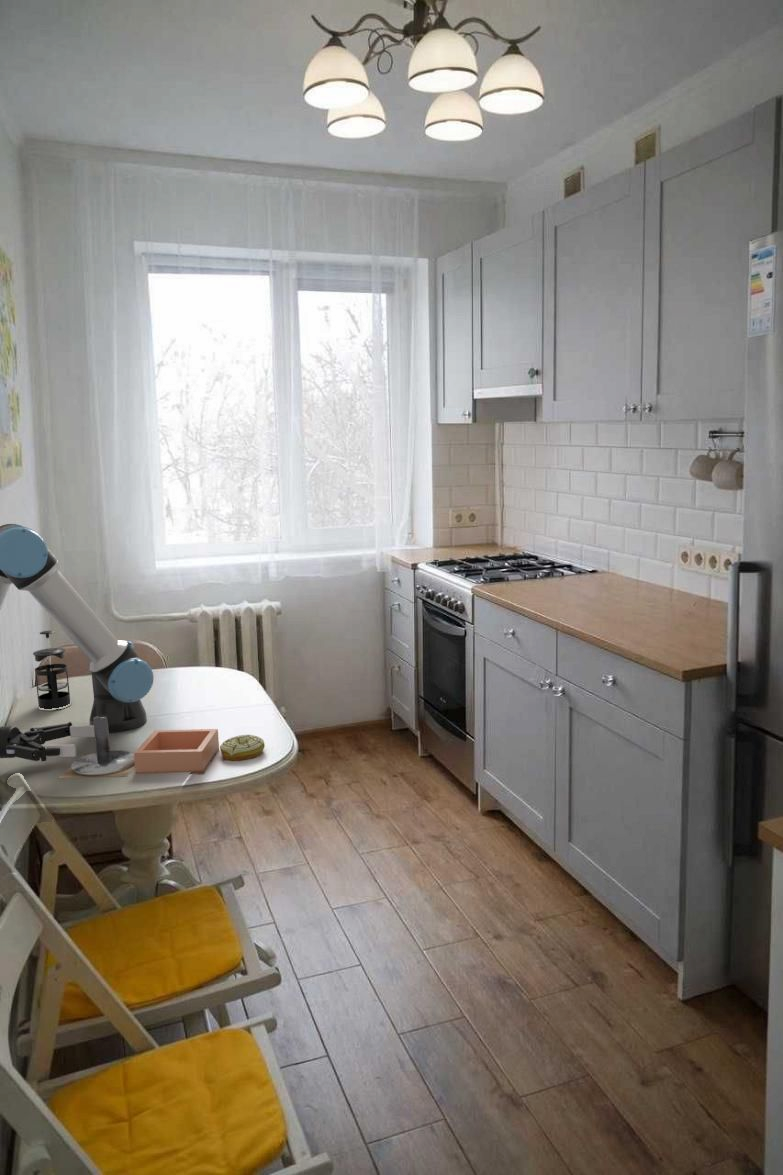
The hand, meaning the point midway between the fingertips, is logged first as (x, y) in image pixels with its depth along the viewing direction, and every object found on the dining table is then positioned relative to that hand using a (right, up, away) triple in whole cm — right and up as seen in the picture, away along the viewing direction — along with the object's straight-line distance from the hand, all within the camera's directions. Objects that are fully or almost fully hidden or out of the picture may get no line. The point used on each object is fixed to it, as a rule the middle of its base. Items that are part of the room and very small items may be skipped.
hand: (86, 740), depth 213 cm
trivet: (+4, -7, +2) cm, 8 cm away
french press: (-28, +1, +54) cm, 61 cm away
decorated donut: (+36, -5, +7) cm, 37 cm away
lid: (+4, -6, +1) cm, 7 cm away
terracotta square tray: (+22, -6, +3) cm, 22 cm away
